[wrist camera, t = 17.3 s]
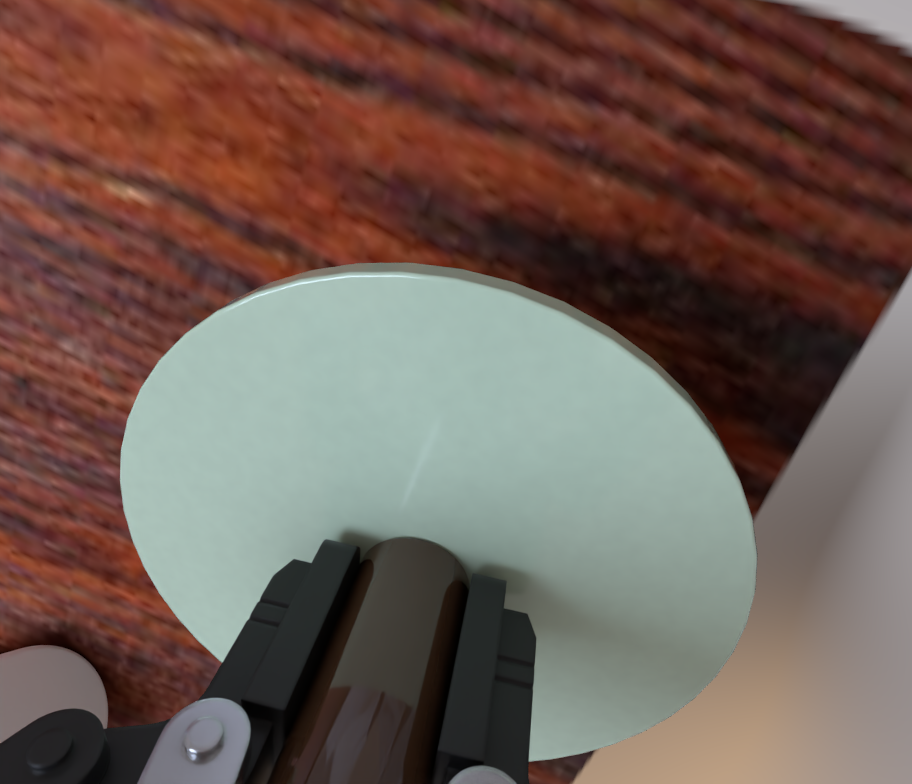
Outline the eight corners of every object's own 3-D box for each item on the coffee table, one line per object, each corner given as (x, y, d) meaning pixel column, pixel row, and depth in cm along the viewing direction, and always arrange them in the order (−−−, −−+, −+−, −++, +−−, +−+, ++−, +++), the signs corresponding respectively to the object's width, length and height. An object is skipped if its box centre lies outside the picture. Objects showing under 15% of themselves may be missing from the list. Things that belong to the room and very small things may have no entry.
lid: (870, 331, 10) (1239, 667, 4) (635, 767, 16) (665, 1107, 11) (108, 191, 11) (-353, 318, 5) (183, 653, 17) (12, 912, 12)
